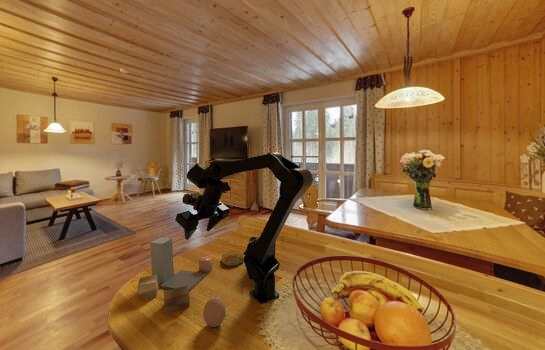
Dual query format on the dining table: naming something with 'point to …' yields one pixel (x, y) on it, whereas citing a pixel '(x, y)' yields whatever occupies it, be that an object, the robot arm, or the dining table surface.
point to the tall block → (162, 259)
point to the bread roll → (232, 257)
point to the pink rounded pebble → (205, 264)
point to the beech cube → (147, 287)
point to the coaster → (183, 280)
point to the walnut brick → (176, 299)
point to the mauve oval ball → (214, 312)
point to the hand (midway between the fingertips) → (197, 234)
